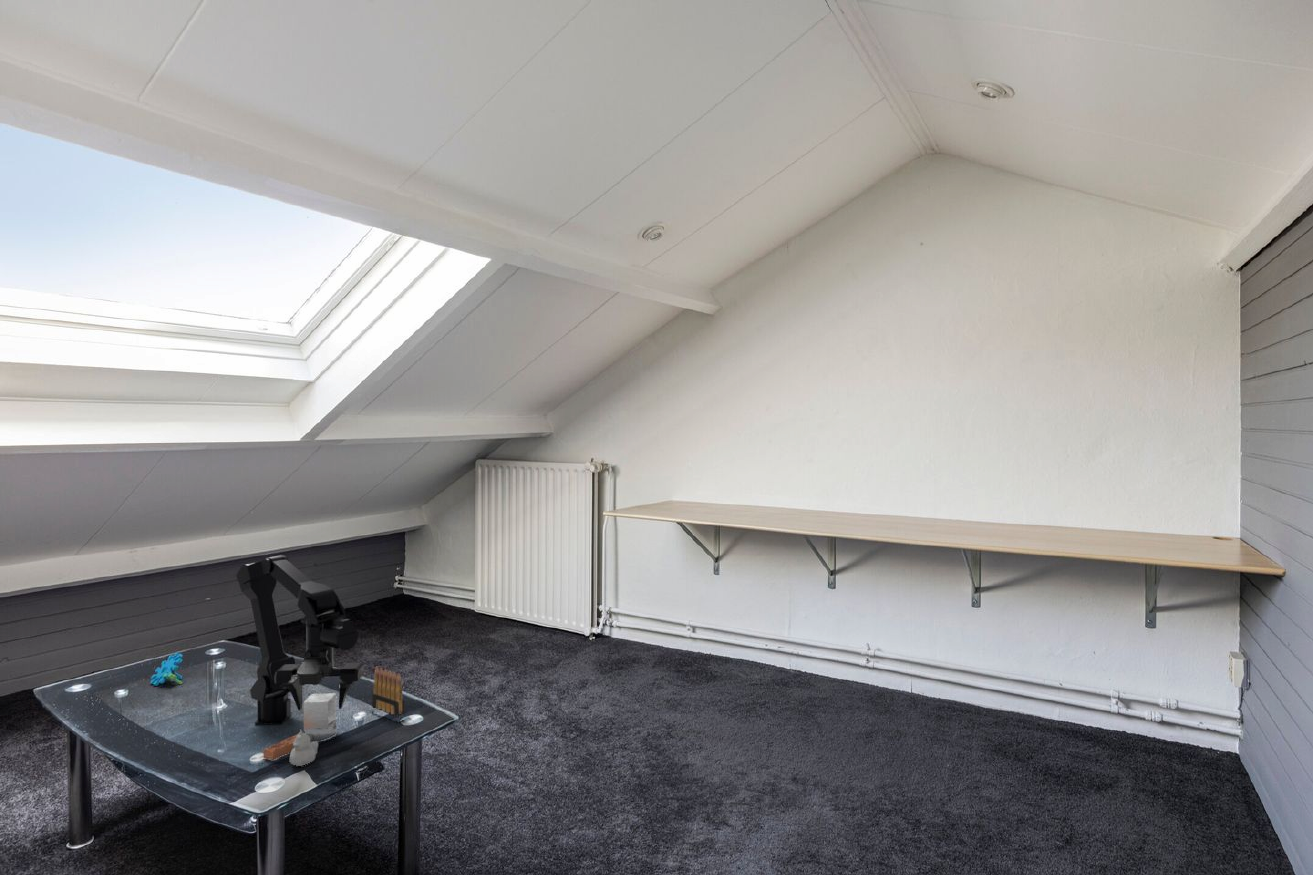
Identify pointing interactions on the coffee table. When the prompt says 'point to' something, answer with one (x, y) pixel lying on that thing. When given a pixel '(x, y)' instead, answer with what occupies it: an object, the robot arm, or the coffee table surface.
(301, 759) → the rubber duck
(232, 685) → the coffee table surface
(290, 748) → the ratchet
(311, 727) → the small white cube
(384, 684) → the ammunition clip
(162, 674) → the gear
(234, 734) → the coffee table surface
